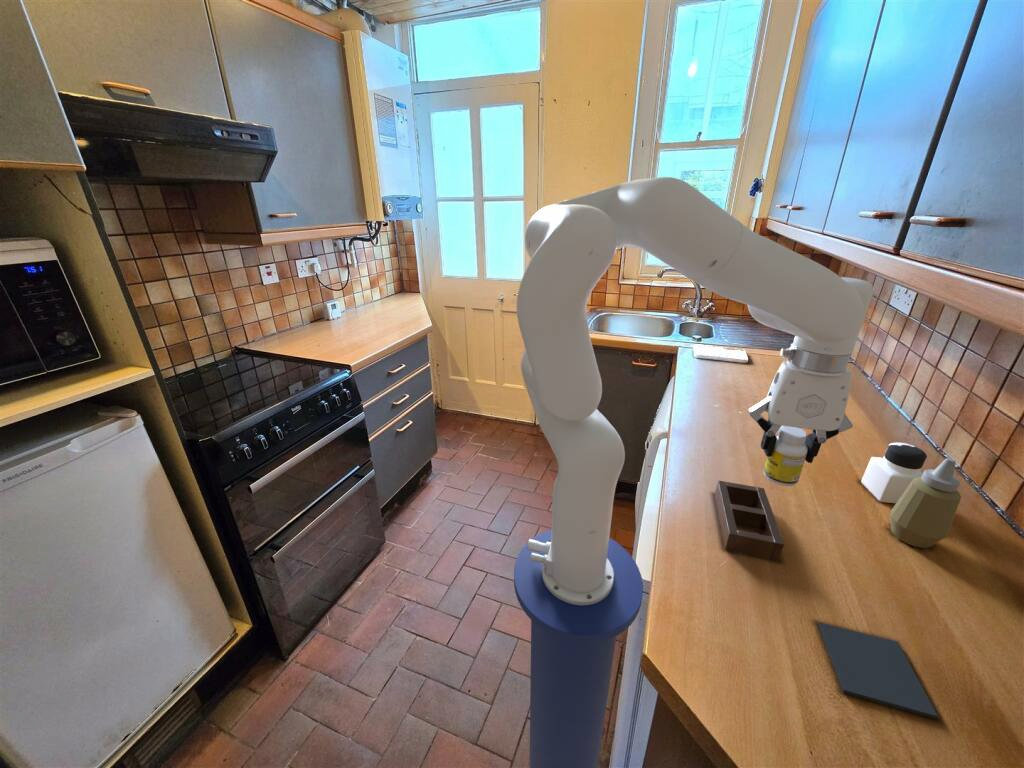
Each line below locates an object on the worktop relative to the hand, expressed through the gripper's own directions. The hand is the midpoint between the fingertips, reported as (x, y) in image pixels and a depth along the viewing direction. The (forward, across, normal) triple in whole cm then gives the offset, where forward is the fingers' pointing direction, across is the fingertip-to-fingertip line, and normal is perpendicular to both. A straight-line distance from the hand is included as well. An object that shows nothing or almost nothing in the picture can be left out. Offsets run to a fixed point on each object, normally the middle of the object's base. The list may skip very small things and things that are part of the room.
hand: (786, 454), depth 71 cm
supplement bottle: (+5, 0, 0) cm, 5 cm away
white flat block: (+19, +8, +108) cm, 110 cm away
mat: (+19, +9, -22) cm, 31 cm away
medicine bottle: (+19, +30, +22) cm, 42 cm away
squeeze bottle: (+19, +28, +8) cm, 35 cm away
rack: (+19, -2, +3) cm, 20 cm away
